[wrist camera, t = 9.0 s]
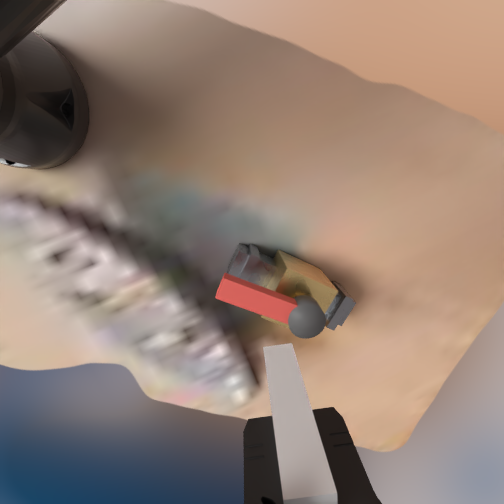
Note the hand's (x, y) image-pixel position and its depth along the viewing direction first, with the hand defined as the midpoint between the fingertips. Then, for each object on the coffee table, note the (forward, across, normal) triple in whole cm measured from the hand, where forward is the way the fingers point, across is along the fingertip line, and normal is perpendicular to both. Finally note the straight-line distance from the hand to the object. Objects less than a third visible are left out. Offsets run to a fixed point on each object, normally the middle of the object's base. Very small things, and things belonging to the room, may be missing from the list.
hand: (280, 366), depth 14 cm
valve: (+25, +4, -6) cm, 26 cm away
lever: (+15, +1, -4) cm, 16 cm away
